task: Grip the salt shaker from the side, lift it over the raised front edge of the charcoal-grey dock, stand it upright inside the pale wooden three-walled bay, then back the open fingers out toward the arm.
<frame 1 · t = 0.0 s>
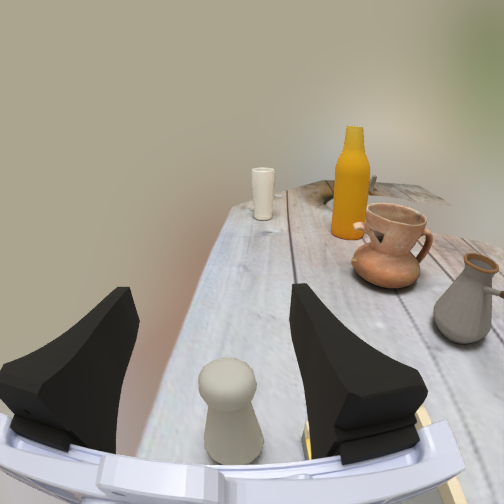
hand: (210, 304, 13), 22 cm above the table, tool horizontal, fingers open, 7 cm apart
drinking glass: (263, 218, 91), on the table
coffee pot: (467, 349, 36), on the table
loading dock: (376, 489, 20), on the table
lighter: (371, 191, 128), on the table
ceramic jug: (387, 278, 57), on the table
salt shaker: (235, 451, 26), on the table
beer bottle: (347, 234, 79), on the table
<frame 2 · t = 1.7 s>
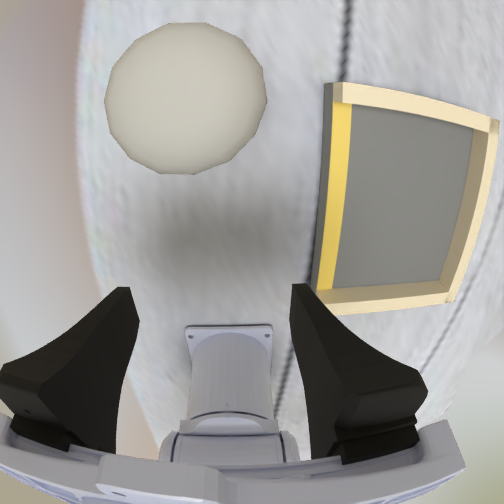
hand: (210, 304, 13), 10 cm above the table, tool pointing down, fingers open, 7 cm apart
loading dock: (397, 197, 21), on the table
salt shaker: (216, 96, 17), on the table
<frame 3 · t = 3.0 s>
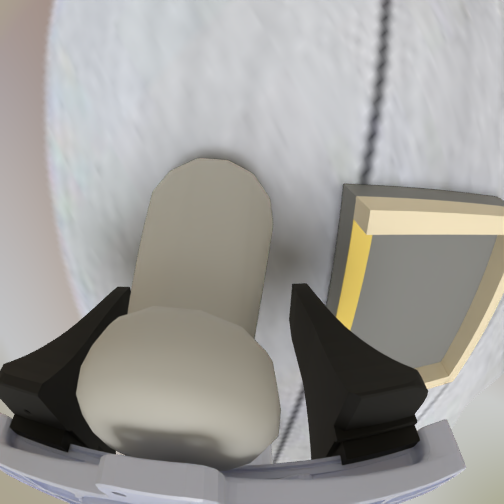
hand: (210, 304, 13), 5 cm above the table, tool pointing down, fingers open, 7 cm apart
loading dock: (409, 294, 20), on the table
salt shaker: (214, 200, 16), on the table
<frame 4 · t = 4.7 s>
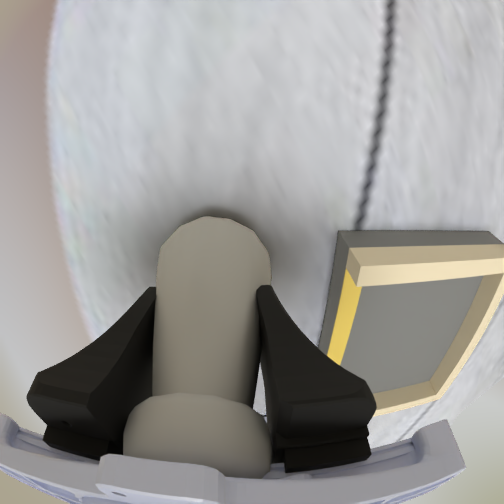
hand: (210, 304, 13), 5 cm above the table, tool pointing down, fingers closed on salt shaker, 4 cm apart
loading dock: (399, 322, 21), on the table
salt shaker: (216, 247, 17), on the table, touching gripper
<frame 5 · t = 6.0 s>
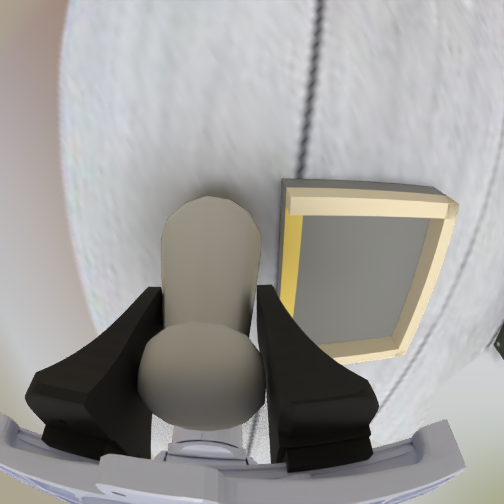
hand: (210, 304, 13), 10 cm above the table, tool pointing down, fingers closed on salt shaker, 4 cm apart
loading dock: (351, 271, 25), on the table
salt shaker: (213, 226, 19), point 3 cm above the table, touching gripper
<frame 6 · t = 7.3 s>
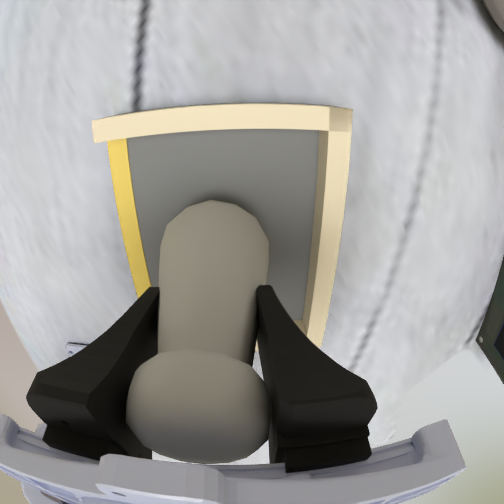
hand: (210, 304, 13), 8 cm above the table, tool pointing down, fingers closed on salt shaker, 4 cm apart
coffee pot: (502, 43, 12), on the table
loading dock: (226, 225, 20), on the table
salt shaker: (217, 232, 18), point 2 cm above the table, touching gripper, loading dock
when the fingers open (8 cm above the table, at t = 7.7 s): salt shaker stays where it is, resting on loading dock.
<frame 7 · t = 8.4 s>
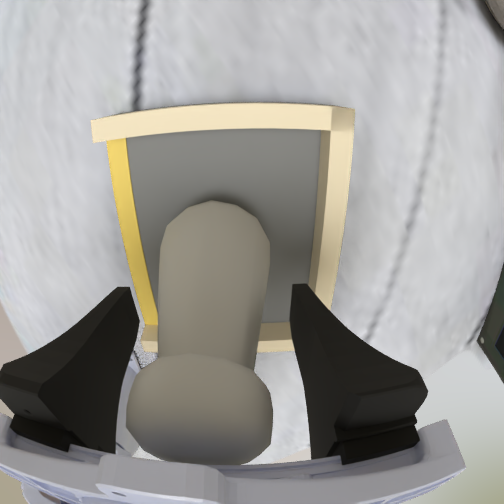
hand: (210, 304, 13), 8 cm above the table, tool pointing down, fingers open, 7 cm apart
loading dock: (227, 226, 20), on the table
salt shaker: (218, 233, 18), point 2 cm above the table, touching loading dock
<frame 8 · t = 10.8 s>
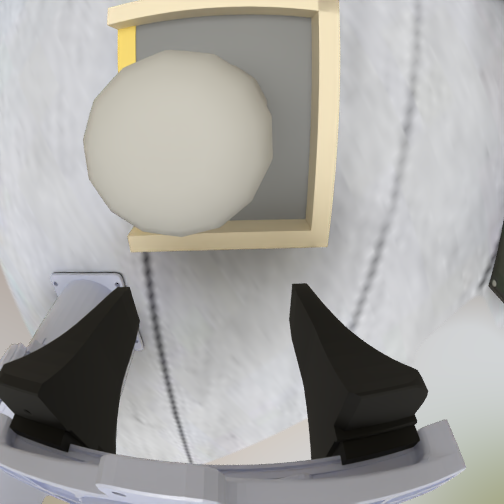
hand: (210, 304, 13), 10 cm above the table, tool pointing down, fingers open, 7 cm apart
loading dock: (225, 116, 18), on the table
salt shaker: (215, 111, 17), point 2 cm above the table, touching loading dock
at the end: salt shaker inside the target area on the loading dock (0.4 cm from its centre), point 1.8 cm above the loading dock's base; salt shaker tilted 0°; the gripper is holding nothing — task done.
